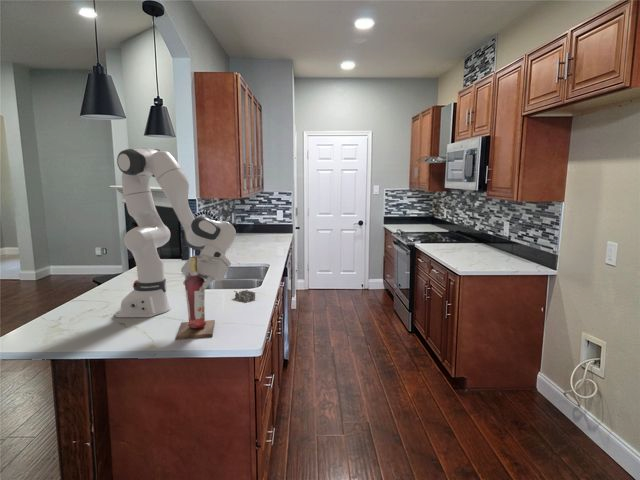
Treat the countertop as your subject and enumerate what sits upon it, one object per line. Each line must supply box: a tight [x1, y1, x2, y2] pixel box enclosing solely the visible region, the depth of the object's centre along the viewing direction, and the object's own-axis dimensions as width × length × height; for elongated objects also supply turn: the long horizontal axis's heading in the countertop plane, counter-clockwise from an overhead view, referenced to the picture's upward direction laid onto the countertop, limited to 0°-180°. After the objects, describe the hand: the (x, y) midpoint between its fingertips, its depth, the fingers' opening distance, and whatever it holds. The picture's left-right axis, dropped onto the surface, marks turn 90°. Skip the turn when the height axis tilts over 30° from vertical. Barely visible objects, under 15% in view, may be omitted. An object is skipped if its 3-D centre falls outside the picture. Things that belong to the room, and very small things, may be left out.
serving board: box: [175, 319, 216, 340], centre depth 153 cm, size 13×15×1 cm
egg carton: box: [233, 289, 256, 302], centre depth 196 cm, size 11×8×4 cm
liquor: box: [184, 256, 206, 329], centre depth 151 cm, size 7×7×28 cm
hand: (193, 286), depth 151 cm, fingers open, 8 cm apart
